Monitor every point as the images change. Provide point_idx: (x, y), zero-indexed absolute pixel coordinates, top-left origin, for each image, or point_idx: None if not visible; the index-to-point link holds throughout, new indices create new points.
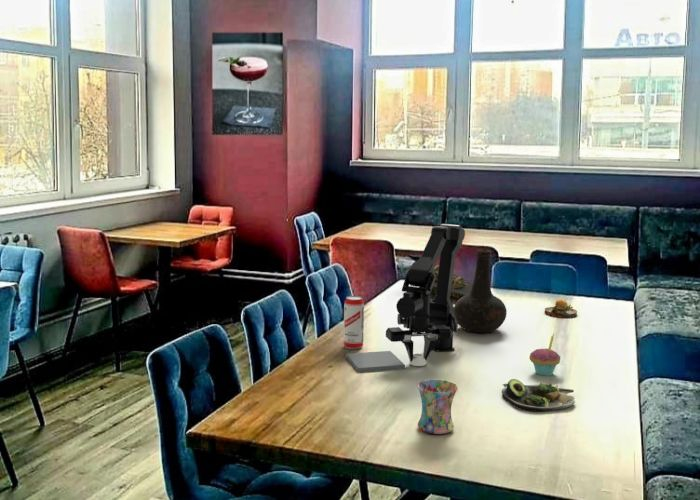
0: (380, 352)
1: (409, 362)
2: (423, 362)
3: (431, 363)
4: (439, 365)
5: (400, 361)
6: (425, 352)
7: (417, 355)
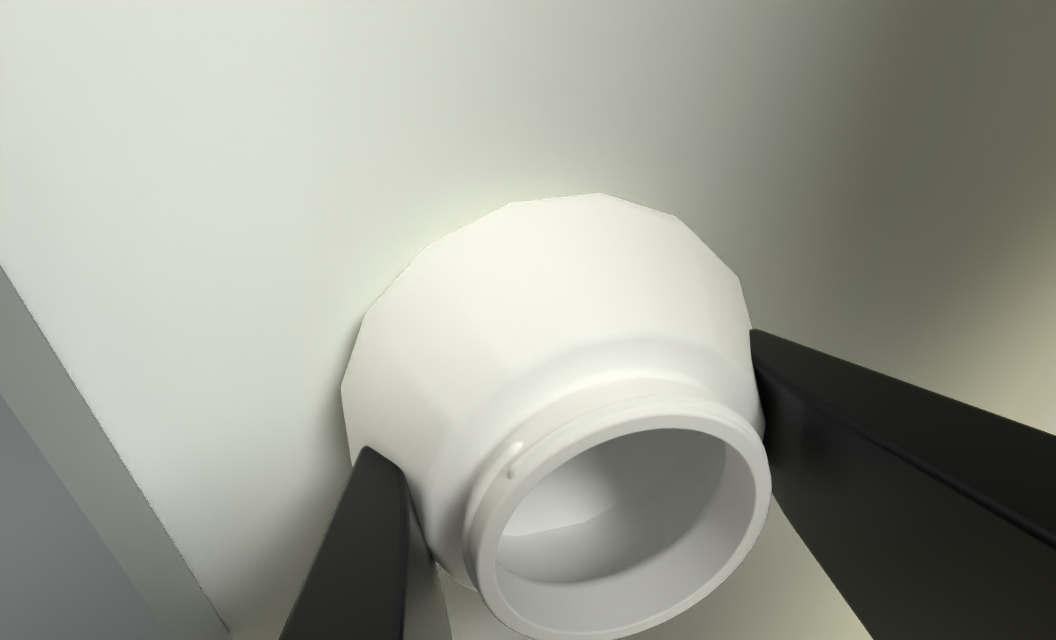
0: None
1: (346, 427)
2: (661, 526)
3: (849, 259)
4: (932, 359)
5: (78, 556)
6: (871, 566)
7: (625, 389)
